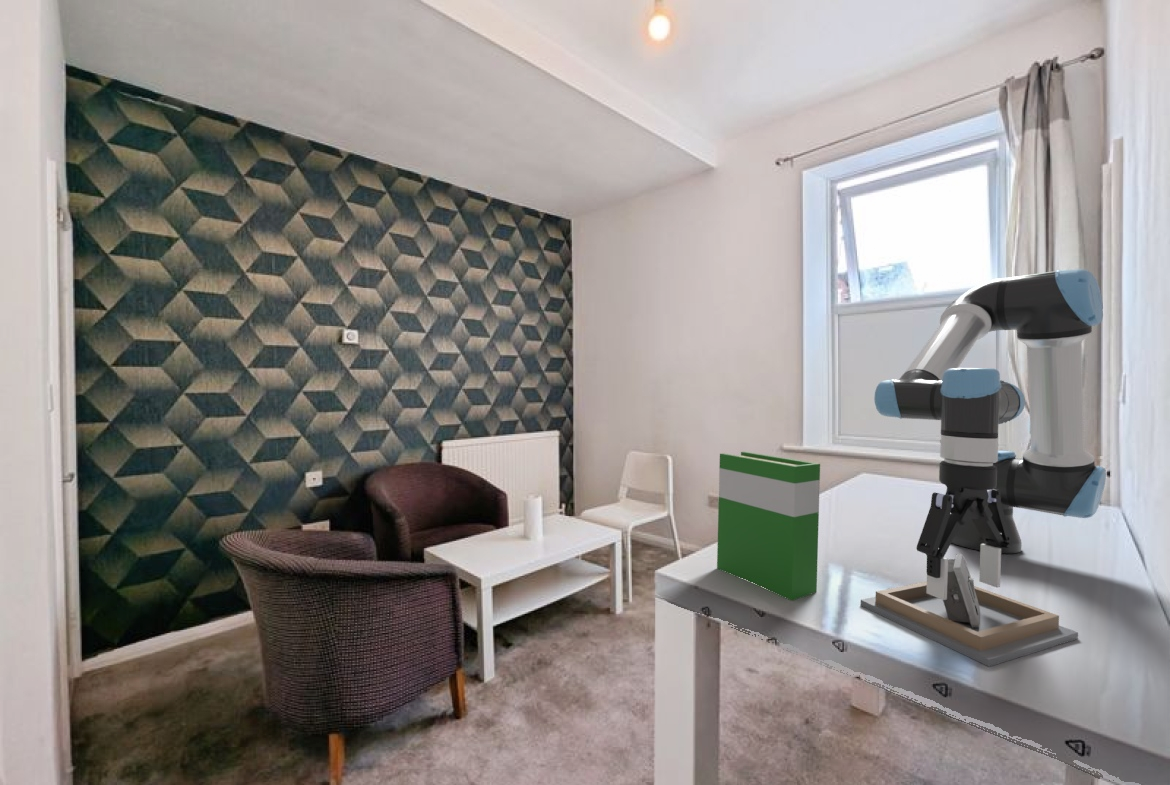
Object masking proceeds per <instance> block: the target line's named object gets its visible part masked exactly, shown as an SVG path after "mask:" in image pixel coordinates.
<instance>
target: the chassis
mask: <svg viewBox="0 0 1170 785" xmlns="http://www.w3.org/2000/svg"><path fill="white" fill-rule="evenodd" d="M974 589H975V593H976V596H977V599H978V603H979V607H980V617H979V627H977V628H972V626H971V623H969V622H960V621H951V620H949V618H948V615H947V612H946V609H945V605H944V602H943V600H942V599H940V598H937V597H935V596H932V595H930V594H927V593H926V591H927V581H922V582H918V583H917V582H916V583H913V584H908V585H903V586H902V585H901V586H896V587H891V588H886V589H881V590H877V591H876V590H875V596H872V597H868V598H863V599H860V606H861V607H863V608H865V609H867V610H870V611H871V612H873V613H875V614H877V615H880V616H882V617H884V618H886V619H889V620H890V621H892V622H894V623H896V624H899V625H901V626H903V627H905V628H907V629H909V630H911V631H913V632H916V633H917V634H920V635H922V636H924V637H926V638H928V639H931V640H932V641H935V642H936V643H939V644H941V645H943V646H945V647H947V648H949V649H951V650H953V651H956V652H958V653H960V654H961V655H963V656H966V657H967V658H971V659H973V660H974V661H977V662H978V663H981V665H982V664H983V665H984V666H987V667H993V666H995V665H999V664H1002V663H1005V662H1008V661H1011V660H1014V659H1018V658H1021V657H1025V656H1028V655H1031V654H1034V653H1037V652H1040V651H1043V650H1046V649H1050V648H1053V647H1056V646H1055V645H1057V646H1059V645H1058V644H1060V643H1063V644H1065V643H1064V642H1066V643H1068V642H1067V641H1069V642H1072V641H1075V639H1076V640H1078V639H1079V632H1078V631H1075V630H1072V629H1070V628H1068V627H1064V626H1061V625H1060V615H1058V614H1055V613H1053V612H1050V611H1048V610H1047V611H1046V610H1043V609H1041V608H1038V607H1035V606H1032V605H1030V604H1027V603H1024V602H1022V601H1018V600H1015V599H1012V598H1010V597H1008V596H1007V597H1006V596H1004V595H1002V594H998V593H996V592H994V591H989V590H988V589H985V588H982V587H979V586H976V585H974ZM1060 645H1061V644H1060ZM1052 646H1053V647H1052ZM1049 647H1050V648H1049Z"/></svg>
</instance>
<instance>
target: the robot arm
mask: <svg viewBox="0 0 1170 785" xmlns="http://www.w3.org/2000/svg"><path fill="white" fill-rule="evenodd" d="M1103 304H1104V303H1103V297H1102V292H1101V288H1100V286H1099V283H1098V280H1097V278H1096V277H1095V275H1094V274H1093V273H1092V272H1091V271H1089V270H1087V269H1083V268H1078V269H1077V268H1075V269H1059V270H1054V271H1047V272H1040V273H1039V272H1038V273H1034V274H1033V273H1032V274H1025V275H1018V276H1012V277H1001V278H995V279H992V280H989V281H986V282H984V283H980V284H979V285H977V286H975V287H973V288H971V289H969V290H968V291H966V292H964V293H962V294H961V295H960V296H958V297H957V298H956V299H954V300H953V301H952V302H951V303H950V304H949V305H948V306H947V307H946V308H945V310H944V311H943V312H942V313H941V316H940V319H939V325H938V327H937V328H936V330H935V331H934V332H933V334H932V335H931V337H930V338H929V339H928V341H927V342H926V343H925V344H924V346H923V347H922V349H921V350H920V351H919V352H918V354H917V355H916V356H915V358H914V359H913V361H912V362H911V363H910V364H909V366H908V367H907V368H906V370H905V371H904V373H903V374H902V375H901V377H900V378H899V379H894V378H892V379H887V380H885V379H884V380H883V381H882V380H881V381H880V382H879V383H878V384H877V386H876V388H875V391H874V405H875V408H876V411H877V413H879V414H880V415H881V416H883V417H891V418H898V419H900V420H901V419H911V420H929V421H930V420H932V421H933V420H935V421H940V440H939V444H940V449H939V456H940V458H942V459H944V460H942V461H941V462H939V468H938V470H939V471H938V473H939V474H938V476H939V477H938V480H939V482H940V483H941V484H942V485H945V487H946V491H945V493H944V494H943V493H941V492H933V493H932V494H931V500H930V507H929V510H928V514H927V516H926V519H925V521H924V525H923V527H922V531H921V533H920V536H919V539H918V542H917V544H916V551H917V552H920V553H922V554H925V555H926V582H927V591H926V593H927V594H930V595H932V596H935V597H937V598H940V599H942V600H947V579H948V559H949V558H948V557H945V555H946V554H947V552H948V549H949V548H950V547H951V544H954V545H955V546H959V547H963V548H967V549H972V550H975V551H976V550H977V551H979V552H980V553H979V557H980V558H979V576H978V577H979V579H978V581H979V582H980V583H982V584H986V585H989V586H992V587H994V588H1001V571H1002V570H1001V569H1002V568H1001V567H1002V566H1001V565H1002V554H1018V553H1020V552H1021V551H1022V546H1023V545H1022V543H1023V542H1022V539H1021V536H1020V533H1019V530H1018V528H1017V525H1016V523H1015V520H1014V508H1018V509H1024V510H1030V511H1036V512H1041V513H1047V514H1051V515H1057V516H1062V517H1072V518H1080V519H1088V518H1092V517H1093V516H1094V515H1095V514H1096V513H1097V511H1098V509H1099V506H1100V503H1101V500H1102V498H1103V493H1104V489H1105V484H1106V478H1107V472H1106V471H1107V470H1106V468H1104V467H1102V466H1101V465H1096V464H1095V456H1094V455H1093V454H1092V453H1090V452H1088V451H1087V450H1086V449H1085V431H1084V430H1085V429H1084V428H1085V427H1084V422H1085V421H1084V390H1083V386H1084V385H1083V382H1084V381H1083V349H1082V348H1083V347H1082V343H1083V341H1084V340H1085V339H1086V338H1088V337H1089V336H1090V335H1091V334H1092V332H1093V331H1092V330H1093V329H1092V327H1094V326H1096V325H1099V324H1101V323H1102V322H1103V317H1104V310H1103V309H1104V305H1103ZM1013 330H1014V331H1016V338H1017V340H1018V341H1020V342H1021V343H1023V344H1025V346H1026V355H1027V356H1026V358H1027V359H1026V360H1027V362H1026V363H1027V380H1028V382H1027V384H1028V405H1029V407H1028V408H1029V424H1030V425H1029V427H1030V428H1029V429H1030V448H1028V449H1027V450H1025V451H1024V452H1023V454H1022V458H1017V455H1016V454H1015V451H1011V450H999V425H1001V424H1003V423H1005V424H1006V423H1007V422H1010V421H1012V420H1014V419H1016V418H1017V417H1019V416H1020V415H1021V414H1022V413H1023V411H1024V409H1025V406H1026V398H1025V395H1024V393H1023V392H1022V390H1021V389H1020V388H1019V387H1018V386H1016V385H1014V384H1012V383H1011V382H1008V381H1004V380H1002V379H1001V373H1000V371H999V370H998V369H997V368H992V367H990V368H989V367H961V364H962V363H963V362H964V360H965V358H966V357H967V355H968V354H969V353H970V351H971V349H972V348H973V346H974V344H976V342H977V341H978V340H980V339H982V338H984V337H985V336H987V335H988V333H990V332H997V331H1013Z"/></svg>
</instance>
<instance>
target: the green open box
mask: <svg viewBox="0 0 1170 785" xmlns="http://www.w3.org/2000/svg"><path fill="white" fill-rule="evenodd" d="M718 469H719V473H718V475H719V476H718V477H719V478H718V479H719V480H718V512H717V513H718V515H717V521H718V522H717V550H716V551H717V552H716V553H717V556H716V559H717V560H716V562H717V563H716V568H718V569H717V570H720V569H721V570H720V571H722V570H723V572H724V571H726V572H725V573H727V572H728V573H727V574H729V573H731V574H733V575H735V576H734V577H736V576H738V577H740V578H743V579H746V580H748V581H750V582H753V583H755V584H757V585H759V586H762V587H764V588H766V589H768V590H770V591H773V592H775V593H777V594H779V595H778V596H780V595H781V596H780V597H782V596H783V597H782V598H784V597H786V598H785V599H787V598H788V599H787V600H789V599H790V600H789V601H791V600H792V601H795V600H797V599H801V598H803V596H804V597H806V595H807V596H809V594H810V595H812V594H814V592H815V593H817V591H818V590H817V588H818V587H817V586H818V585H817V584H818V582H817V581H818V551H819V550H818V549H819V518H820V516H819V515H820V489H821V487H820V483H821V482H820V479H821V463H819V462H811V461H805V460H799V459H794V458H793V459H792V458H786V457H780V456H774V455H768V454H761V453H755V452H749V451H740V455H734V454H733V455H732V454H728V453H719V468H718ZM731 574H730V575H731ZM733 575H732V576H733ZM738 577H737V578H738ZM740 578H739V579H740ZM743 579H742V580H743ZM750 582H749V583H750ZM757 585H756V586H757ZM759 586H758V587H759ZM764 588H763V589H764ZM766 589H765V590H766ZM768 590H767V591H768ZM770 591H769V592H770ZM773 592H772V593H773ZM775 593H774V594H775ZM811 593H812V594H811ZM777 594H776V595H777ZM800 597H801V598H800ZM794 599H795V600H794Z"/></svg>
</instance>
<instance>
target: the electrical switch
mask: <svg viewBox="0 0 1170 785" xmlns="http://www.w3.org/2000/svg"><path fill="white" fill-rule="evenodd" d="M974 583H975V582H974V578H973V577H971V573H970V571H969V568H968V564H967V563H966V560H965V557H964V554H960V553H959V554H958V553H957V554H956V555H955V558H954V559H953V558H948V579H947V600H943V602H944V605H945V609H946V612H947V615H948V618H949V620H951V621H960V622H969V623H971V626H972V628H977V627H979V617H980V607H979V603H978V599H977V596H976V593H975V589H974V586H975V584H974Z"/></svg>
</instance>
